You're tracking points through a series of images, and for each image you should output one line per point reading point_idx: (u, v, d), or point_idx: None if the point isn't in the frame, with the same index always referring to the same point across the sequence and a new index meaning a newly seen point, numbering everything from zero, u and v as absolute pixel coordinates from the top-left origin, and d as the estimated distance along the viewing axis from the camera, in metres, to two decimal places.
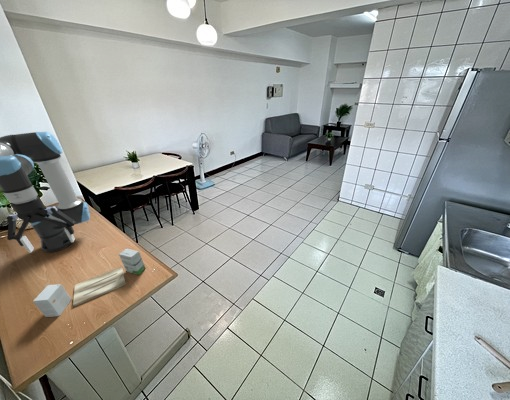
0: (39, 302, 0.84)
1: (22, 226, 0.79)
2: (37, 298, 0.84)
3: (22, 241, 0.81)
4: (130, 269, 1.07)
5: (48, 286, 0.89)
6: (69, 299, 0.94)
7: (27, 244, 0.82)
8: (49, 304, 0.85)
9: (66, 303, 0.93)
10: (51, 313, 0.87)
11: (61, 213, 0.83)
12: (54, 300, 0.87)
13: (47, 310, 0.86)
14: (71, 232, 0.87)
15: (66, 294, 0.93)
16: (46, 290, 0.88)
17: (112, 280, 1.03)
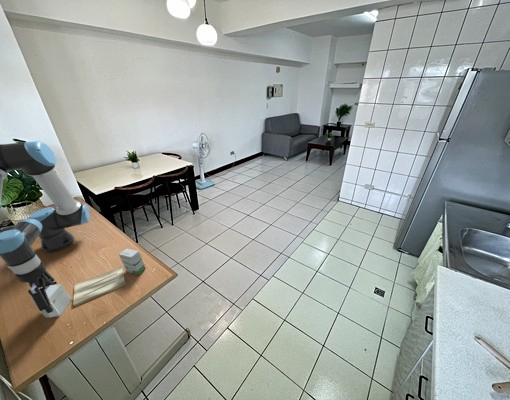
0: None
1: None
2: None
3: None
4: (130, 269, 1.07)
5: (48, 286, 0.89)
6: (69, 299, 0.94)
7: None
8: None
9: (66, 303, 0.92)
10: None
11: (37, 296, 0.79)
12: (54, 300, 0.87)
13: None
14: None
15: (66, 294, 0.93)
16: (46, 290, 0.88)
17: (112, 280, 1.03)
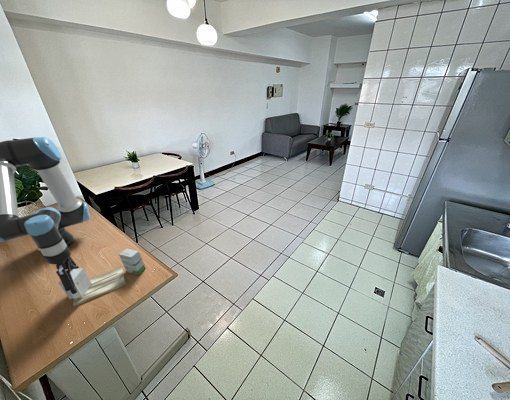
0: None
1: None
2: None
3: None
4: (130, 269, 1.07)
5: (71, 270, 0.95)
6: (90, 283, 1.00)
7: None
8: None
9: (87, 286, 0.99)
10: None
11: (64, 277, 0.85)
12: (77, 282, 0.93)
13: None
14: None
15: (87, 278, 0.99)
16: None
17: (112, 280, 1.03)
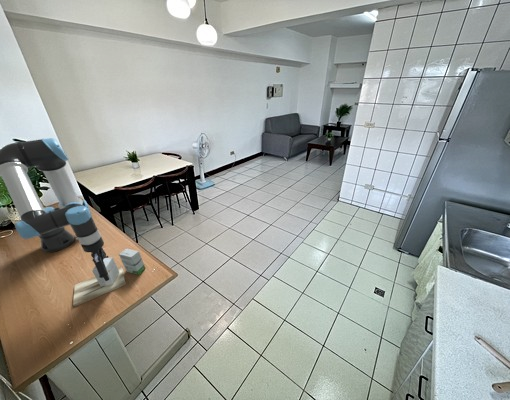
0: (97, 271, 0.96)
1: None
2: (95, 268, 0.96)
3: None
4: (130, 269, 1.07)
5: None
6: (118, 272, 1.06)
7: None
8: None
9: (116, 275, 1.04)
10: None
11: (99, 265, 0.91)
12: (109, 270, 0.98)
13: None
14: None
15: (116, 267, 1.04)
16: None
17: None
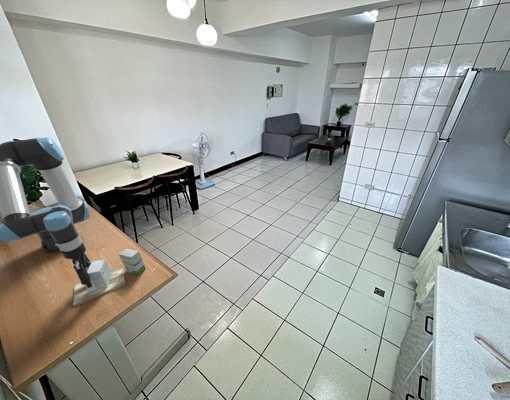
0: (91, 274, 0.94)
1: None
2: (88, 271, 0.94)
3: None
4: (130, 269, 1.07)
5: (93, 262, 0.99)
6: (111, 274, 1.05)
7: None
8: (100, 275, 0.96)
9: (109, 277, 1.03)
10: (100, 285, 0.98)
11: (80, 272, 0.88)
12: (103, 272, 0.98)
13: (97, 282, 0.97)
14: None
15: (108, 269, 1.03)
16: (93, 265, 0.98)
17: (112, 280, 1.03)
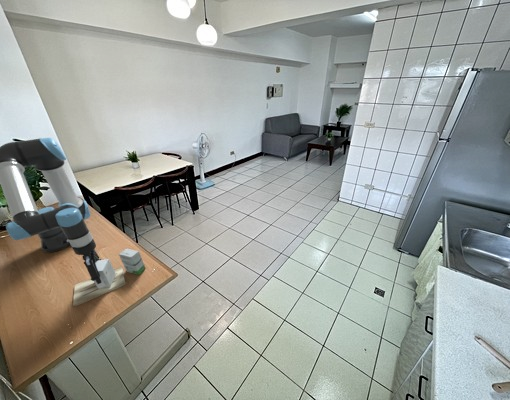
0: None
1: None
2: None
3: None
4: (130, 269, 1.07)
5: (97, 261, 1.00)
6: (114, 273, 1.05)
7: None
8: (103, 275, 0.96)
9: (113, 276, 1.03)
10: None
11: (91, 268, 0.90)
12: (106, 272, 0.98)
13: None
14: None
15: (112, 268, 1.04)
16: (97, 264, 0.98)
17: None
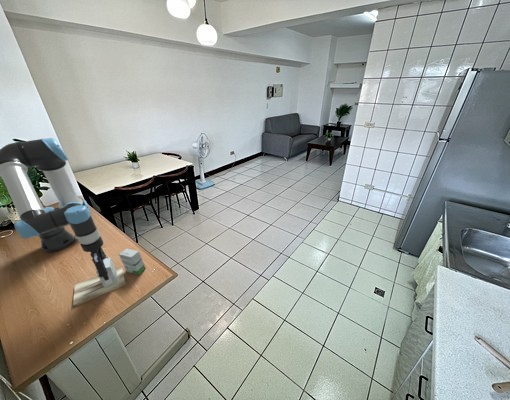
0: None
1: None
2: None
3: None
4: (130, 269, 1.07)
5: None
6: (116, 271, 1.06)
7: None
8: (111, 271, 0.98)
9: (116, 274, 1.05)
10: None
11: (99, 265, 0.91)
12: (112, 268, 0.99)
13: None
14: None
15: None
16: None
17: None
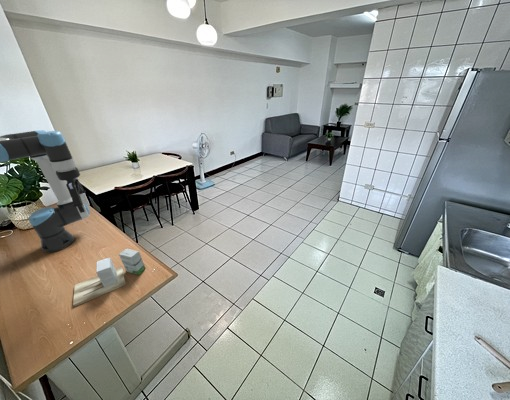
0: (102, 271, 0.95)
1: None
2: (98, 269, 0.95)
3: None
4: (130, 269, 1.07)
5: (98, 261, 1.00)
6: (116, 271, 1.06)
7: (82, 200, 1.04)
8: (111, 271, 0.98)
9: (116, 274, 1.05)
10: (110, 281, 0.99)
11: (73, 192, 0.90)
12: (112, 269, 0.99)
13: (107, 279, 0.98)
14: (79, 211, 0.93)
15: None
16: (100, 263, 0.98)
17: None
